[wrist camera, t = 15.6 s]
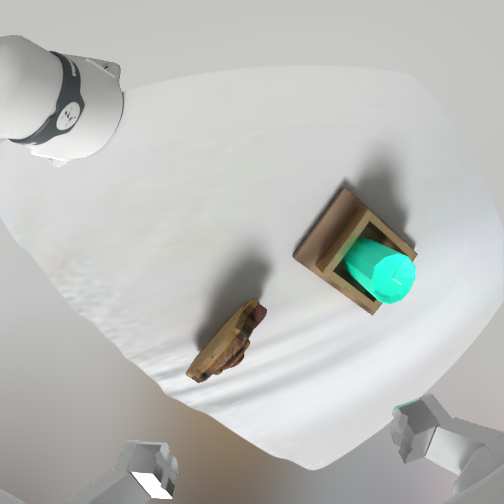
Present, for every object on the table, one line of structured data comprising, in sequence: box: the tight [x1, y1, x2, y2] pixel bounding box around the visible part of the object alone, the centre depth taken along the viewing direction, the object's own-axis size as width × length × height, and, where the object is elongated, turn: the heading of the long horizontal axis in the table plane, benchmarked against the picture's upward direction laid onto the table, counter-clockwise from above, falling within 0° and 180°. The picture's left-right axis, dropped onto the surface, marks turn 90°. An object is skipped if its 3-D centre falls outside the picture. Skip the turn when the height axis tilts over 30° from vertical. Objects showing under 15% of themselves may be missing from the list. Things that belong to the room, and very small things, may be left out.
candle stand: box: [293, 188, 417, 316], centre depth 38 cm, size 16×12×6 cm
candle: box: [342, 237, 415, 304], centre depth 34 cm, size 6×6×12 cm
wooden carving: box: [186, 299, 267, 383], centre depth 38 cm, size 16×5×10 cm, turn 146°
